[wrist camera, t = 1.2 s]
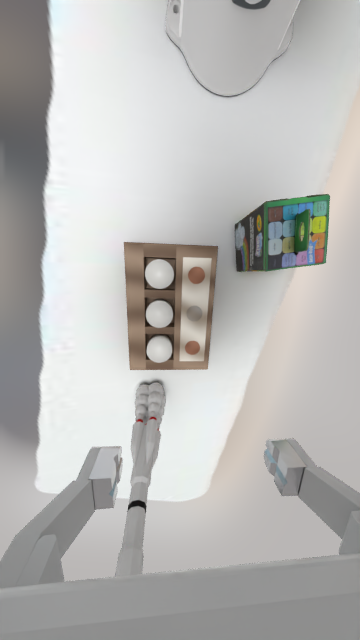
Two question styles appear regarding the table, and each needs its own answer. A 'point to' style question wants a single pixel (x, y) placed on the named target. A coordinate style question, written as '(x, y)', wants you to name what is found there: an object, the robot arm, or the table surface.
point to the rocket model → (141, 474)
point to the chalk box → (283, 234)
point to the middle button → (159, 313)
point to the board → (171, 303)
